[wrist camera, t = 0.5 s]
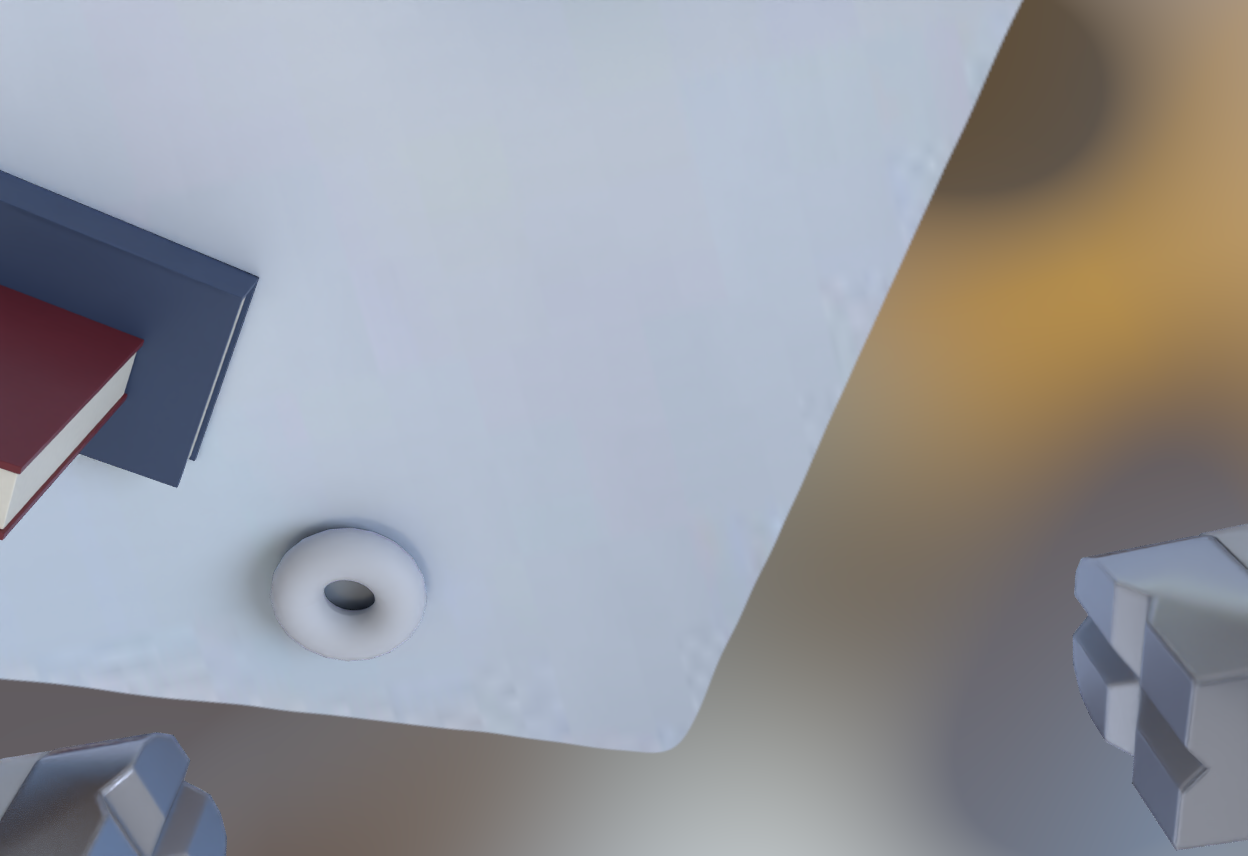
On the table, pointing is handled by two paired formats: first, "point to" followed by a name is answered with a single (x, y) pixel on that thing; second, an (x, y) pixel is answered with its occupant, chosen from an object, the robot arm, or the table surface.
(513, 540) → the table surface
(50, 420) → the burgundy book
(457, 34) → the table surface
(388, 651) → the donut
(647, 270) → the table surface
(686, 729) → the table surface
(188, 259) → the slate book
